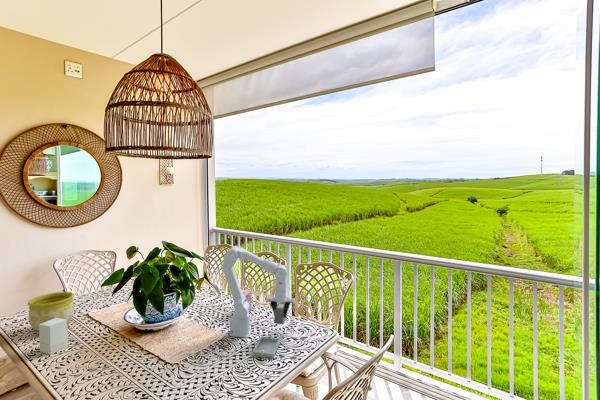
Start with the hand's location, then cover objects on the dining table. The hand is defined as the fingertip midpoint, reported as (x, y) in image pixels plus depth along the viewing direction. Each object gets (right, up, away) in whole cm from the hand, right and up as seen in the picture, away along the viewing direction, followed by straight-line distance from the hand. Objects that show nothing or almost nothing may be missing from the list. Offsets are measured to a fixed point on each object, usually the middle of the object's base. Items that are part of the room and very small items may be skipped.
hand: (280, 316), depth 147 cm
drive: (0, -2, 0) cm, 2 cm away
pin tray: (-5, -9, -14) cm, 18 cm away
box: (-23, -8, +25) cm, 35 cm away
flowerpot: (-118, -8, +4) cm, 119 cm away
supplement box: (-102, -9, -15) cm, 103 cm away
